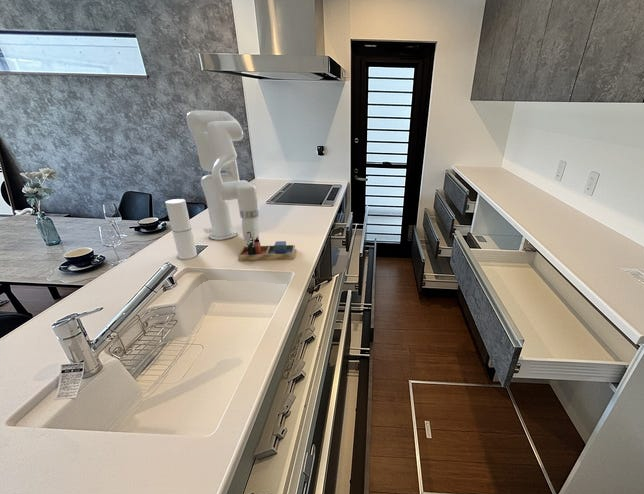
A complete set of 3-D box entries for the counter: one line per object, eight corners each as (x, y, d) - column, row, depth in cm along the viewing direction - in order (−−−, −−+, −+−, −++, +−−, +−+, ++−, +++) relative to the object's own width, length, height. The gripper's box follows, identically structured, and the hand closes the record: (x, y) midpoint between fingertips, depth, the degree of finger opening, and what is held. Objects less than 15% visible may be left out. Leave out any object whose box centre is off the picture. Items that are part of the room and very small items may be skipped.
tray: (238, 260, 132) (237, 255, 131) (244, 251, 141) (243, 246, 140) (293, 259, 135) (292, 253, 134) (295, 249, 144) (294, 244, 143)
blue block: (275, 255, 136) (274, 245, 134) (276, 251, 140) (275, 241, 138) (285, 255, 137) (284, 245, 135) (286, 251, 141) (285, 241, 139)
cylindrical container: (178, 260, 131) (164, 204, 121) (179, 253, 137) (165, 199, 127) (197, 257, 134) (184, 202, 124) (197, 251, 140) (185, 198, 130)
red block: (248, 256, 134) (247, 246, 133) (251, 252, 139) (249, 242, 137) (259, 256, 135) (258, 245, 133) (261, 251, 139) (260, 241, 137)
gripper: (245, 207, 137) (250, 243, 144) (234, 219, 121) (240, 259, 128) (262, 207, 138) (266, 243, 145) (254, 219, 122) (259, 259, 129)
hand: (254, 250), depth 136 cm, fingers open, 7 cm apart
